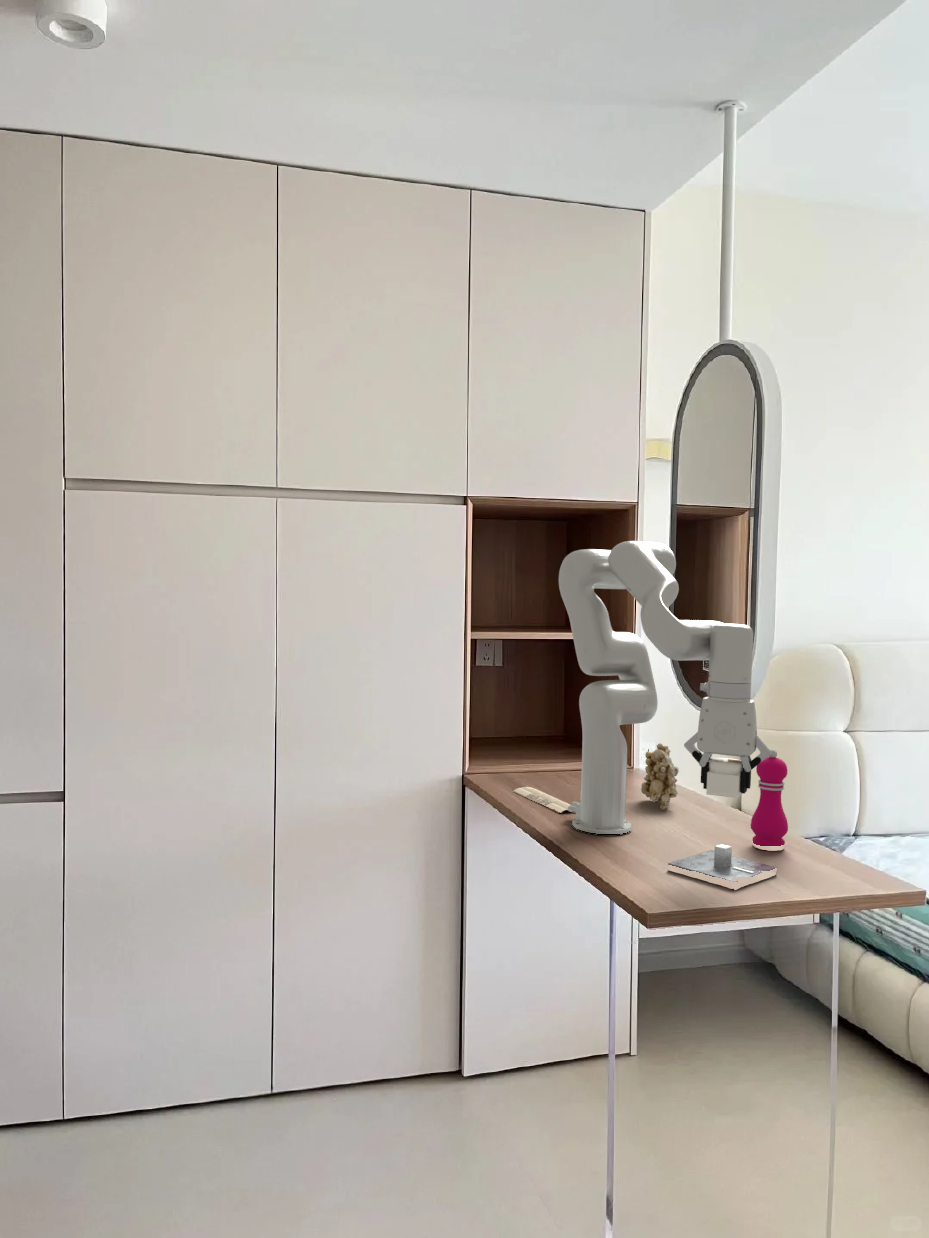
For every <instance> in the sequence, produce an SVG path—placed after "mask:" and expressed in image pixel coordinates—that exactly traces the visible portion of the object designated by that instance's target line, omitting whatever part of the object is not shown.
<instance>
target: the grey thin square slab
mask: <svg viewBox="0 0 929 1238" xmlns="http://www.w3.org/2000/svg"><path fill="white" fill-rule="evenodd" d="M732 854H733V846H730V845H726V844H723V843H721V844H717V845H715V846H714V850H711V849H710V850H708V851H704V852H701V853H697V854H694V855H691V856H686V857H683V858H680V859H677V860H673V861H671V862H667V866H668V865H672V866H676V867H679V868H682V869H686V870H689V871H696V872H699V873H703V874H705V875H709V876H712V877H718V878H722V877H724V878H722V879H725V880H729V881H733V882H738V878H736V880H737V881H736V880H735V879H734V878H733V877H753V876H755V875H758V874H760V873H762V872H761V871H770V870H773V869H775V868H777V869H778V867H776V866H773V865H768V864H766V863H762V862H761V863H760V862H757V861H754V860H749V859H746V858H742V857H738V856H735V855H732ZM759 871H760V872H759ZM726 878H727V879H726ZM732 879H733V880H732Z"/></svg>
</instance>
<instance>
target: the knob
mask: <svg viewBox="0 0 929 1238" xmlns="http://www.w3.org/2000/svg"><path fill="white" fill-rule="evenodd" d="M742 771H743V764H742V761H741V759H738V758H730V757H711V758H710V759H709V771H708V772H707V789H706V791H705V793H706V795H708V796H715V797H725V798H732V799H733V798H734V799H739V797H741V795H743V793H741V792H740V787H741V772H742Z"/></svg>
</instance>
